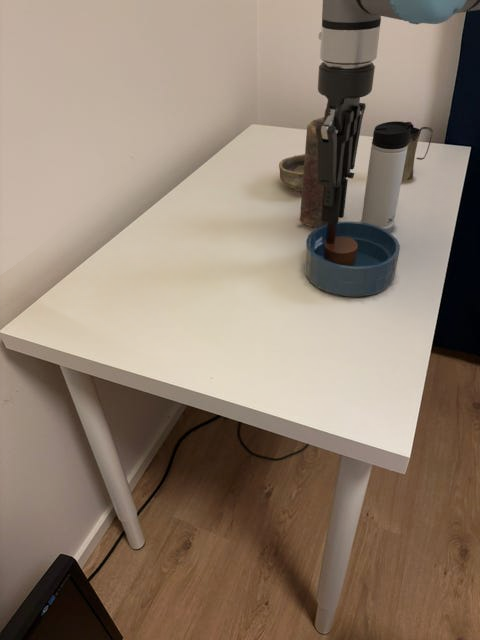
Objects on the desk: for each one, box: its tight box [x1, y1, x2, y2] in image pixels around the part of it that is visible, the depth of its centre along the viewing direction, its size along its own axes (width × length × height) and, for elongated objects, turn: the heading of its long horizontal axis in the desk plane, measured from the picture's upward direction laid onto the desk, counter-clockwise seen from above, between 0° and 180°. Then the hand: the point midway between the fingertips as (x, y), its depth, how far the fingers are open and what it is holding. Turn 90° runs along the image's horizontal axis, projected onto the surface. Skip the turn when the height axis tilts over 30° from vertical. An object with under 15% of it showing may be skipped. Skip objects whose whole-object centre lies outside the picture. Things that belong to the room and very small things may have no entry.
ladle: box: [323, 163, 358, 266], centre depth 79 cm, size 6×6×18 cm
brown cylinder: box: [299, 116, 327, 229], centre depth 92 cm, size 8×7×20 cm
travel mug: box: [360, 120, 414, 233], centre depth 90 cm, size 6×7×20 cm
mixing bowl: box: [304, 220, 401, 298], centre depth 83 cm, size 15×15×6 cm
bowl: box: [278, 153, 305, 192], centre depth 110 cm, size 14×18×10 cm
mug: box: [401, 126, 434, 184], centre depth 110 cm, size 8×6×12 cm
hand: (332, 218), depth 81 cm, fingers closed on ladle, 2 cm apart
